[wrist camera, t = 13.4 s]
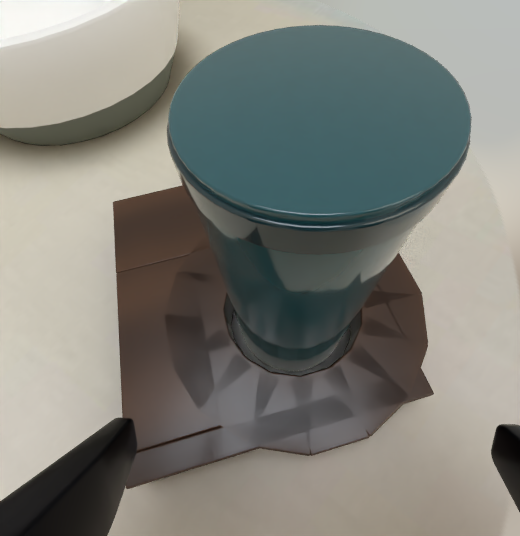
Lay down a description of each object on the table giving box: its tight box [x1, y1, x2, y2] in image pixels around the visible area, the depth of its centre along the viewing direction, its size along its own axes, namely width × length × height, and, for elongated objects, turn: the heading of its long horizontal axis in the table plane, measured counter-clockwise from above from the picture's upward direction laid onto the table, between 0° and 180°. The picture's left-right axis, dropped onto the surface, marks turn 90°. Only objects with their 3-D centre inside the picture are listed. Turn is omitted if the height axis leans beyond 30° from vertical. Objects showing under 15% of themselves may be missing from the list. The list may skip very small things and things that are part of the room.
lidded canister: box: [167, 25, 471, 372], centre depth 12 cm, size 6×6×13 cm
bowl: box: [0, 0, 179, 145], centre depth 26 cm, size 22×22×8 cm
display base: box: [113, 186, 434, 489], centre depth 17 cm, size 16×15×2 cm
